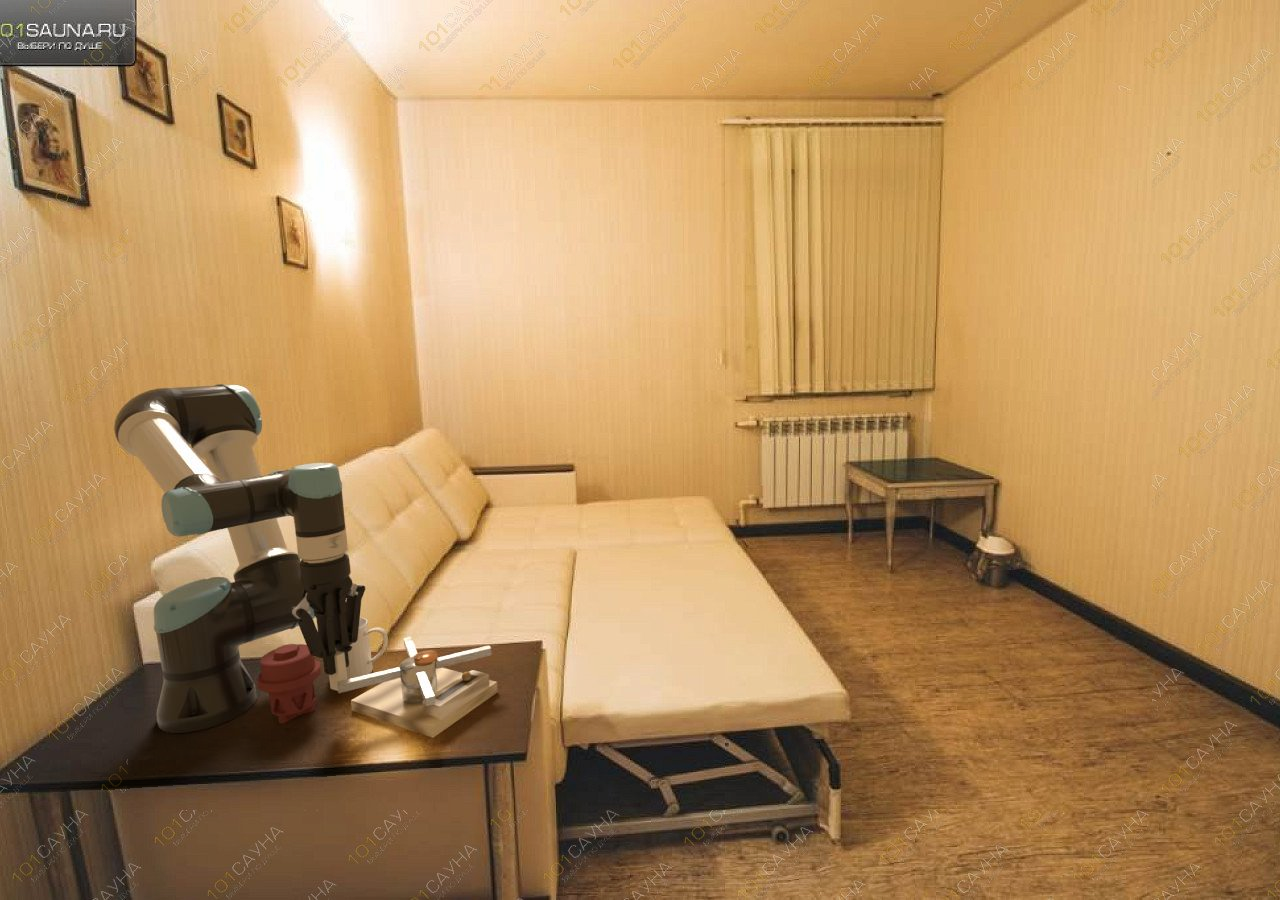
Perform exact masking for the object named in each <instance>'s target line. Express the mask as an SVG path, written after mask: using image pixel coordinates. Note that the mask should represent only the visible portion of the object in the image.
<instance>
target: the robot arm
mask: <svg viewBox="0 0 1280 900" xmlns="http://www.w3.org/2000/svg"><path fill="white" fill-rule="evenodd" d="M261 414H262V413H261V409H260V407H259V404H258V402H257V400H256V398H255V397H254V395H253V394H252V393H251V392H250V391H249V390H248V389H247V388H246V387H244V386H241V385H238V384H223V383H218V384H215V385H202V386H183V387H182V386H180V387H162V388H158V387H157V388H154V389H150V390H146V391H144V392H142V393H139V394H137V395H135V396H134V397H133V398H132V397H131V399H130V400H129V401H127V402H126V403H125V404H124V405H123V406H122V407H121V409H120V410H119V412H118V413H117V415H116V417H115V420H114V428H113V429H114V430H113V431H114V435H115V438H116V440H117V442H118V443H119V445H120V447H122V449H123V450H124V451H125V452H126V453H128V454H129V455H132V456H133V457H136V458H138V459H139V461H140V463H141V464H142V465H143V466H144V467H145V469H146V471H147V472H148V473H149V475H151V477H152V478H153V480H154V481H155V482H156V484H157V485H158V486H159V487H160V490H162V492H163V493H164V494H162V496H161V501H160V502H161V514H162V518H163V522H164V523H165V526H166V530H167V532H168V533H169V534H170V535H172V536H174V537H179V538H181V537H186V536H194V535H198V536H201V535H205V534H207V533H210V532H215V531H220V530H226V529H227V531H228V534H229V537H230V540H231V543H232V546H233V550H234V553H235V555H236V558H237V561H238V566H237V568H236V570H235V571H234V572H233V579H234V581H232V582H231V581H230V580H229V579H228V578H226V577H224V576H212V577H210V578H207V579H206V578H202V579H197V580H194V581H191V582H188V583H186V584H183V585H180V586H179V587H178V586H177V587H176V588H174V589H171V590H170V591H168V592H166V593H165V594H164V595H163V596H161V597H160V598H158V600H157V601H156V603H155V604H154V608H153V621H154V623H153V625H154V626H153V631H154V632H155V634H156V640H157V646H158V652H159V658H160V659H159V660H160V666H161V671H162V678H163V682H162V687H161V692H160V695H159V696H160V697H159V700H158V704H157V709H156V721H157V726H158V728H159V729H160V730H162V731H163V732H165V733H172V734H181V733H182V734H183V733H185V734H186V733H193V732H196V731H197V732H198V731H202V730H205V729H209V728H212V727H215V726H219V725H221V724H223V723H226V722H228V721H231V720H232V719H235V718H237V717H238V716H240V715H242V714H244V713H245V712H246V711H248V710H249V709H250V708H251V707H252V706H253V705H254V704H255V703H256V701H257V696H258V695H257V689H256V685H255V682H254V680H253V679H252V677H251V675H250V674H249V672H248V670H247V668H246V667H245V665H244V663H243V662H242V660H241V655H240V646H241V645H244V644H247V643H251V642H253V641H256V640H260V639H264V638H266V637H269V636H272V635H275V634H278V633H281V632H284V631H287V630H294V629H295V628H296V627H299V629H300V632H301V635H302V636H303V639H304V642H305V645H307V647H308V649H309V652H310V654H311V655H313V656H314V657H315V658H316V657H317V658H319V659H322V663H323V670H324V671H323V672H324V673H325V674H326V675H328V678H329V686H330V687H329V688H330V689H331V690H333V691H337V692H338V687H337V682H339V681H343V680H347V672H346V667H348V666H349V657H348V652H349V651H350V650H351V649H352V646H350V645H351V644H352V643H355V642H356V641H357V639H358V630H359V620H360V617H361V607H362V600H363V597H364V594H365V591H366V586H365V585H362V584H357V583H353V580H352V578H351V577H350V575H351V573H352V572H351V570H352V569H351V562H350V561H351V560H350V556H349V554H348V553H347V552H348V550H349V544H348V537H347V528H346V518H345V517H346V516H345V509H344V499H343V498H344V497H343V483H342V480H341V477H340V470H339V467H338V466H337V465H336V464H334V463H332V462H314V463H306V464H301V465H296V466H293V467H292V468H291V469H279V470H275V471H272V472H270V473H268V474H266V475H263V474H262V472H261V469H260V467H259V464H258V461H257V458H256V455H255V452H254V449H253V448H254V447H255V445H256V444H257V442H258V436H259V435H260V434H261V432H262V429H263V420H262V417H261ZM204 460H205V461H204ZM289 516H290V517H293V522H294V523H293V525H294V529H295V532H294V534H295V539H296V550H297V552H294V551H292V550H289V549H288V547H287V544H286V542H285V541H286V540H285V539H284V535H283V532H282V529H281V528H280V524H279V521H278V519H279V518H284V517H289ZM314 619H316V624H315V621H314ZM335 648H336V649H335Z"/></svg>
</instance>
